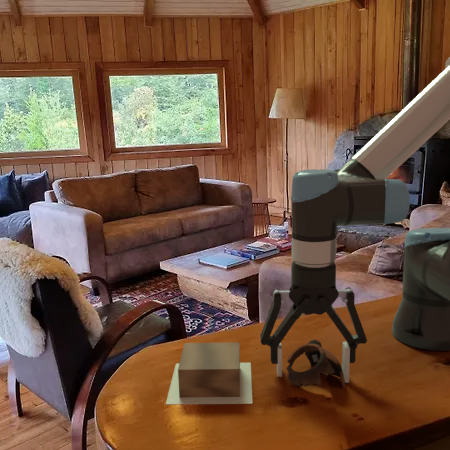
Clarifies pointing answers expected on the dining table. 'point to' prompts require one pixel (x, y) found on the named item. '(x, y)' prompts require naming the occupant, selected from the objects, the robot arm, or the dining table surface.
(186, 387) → the walnut block
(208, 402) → the build board
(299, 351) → the pottery mug
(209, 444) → the dining table surface
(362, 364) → the dining table surface
